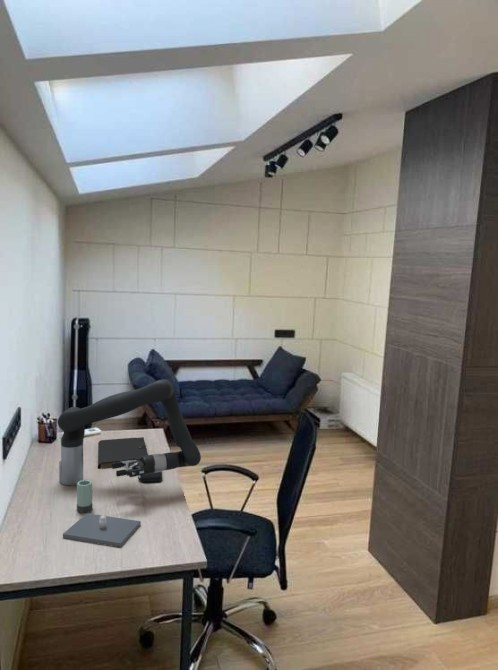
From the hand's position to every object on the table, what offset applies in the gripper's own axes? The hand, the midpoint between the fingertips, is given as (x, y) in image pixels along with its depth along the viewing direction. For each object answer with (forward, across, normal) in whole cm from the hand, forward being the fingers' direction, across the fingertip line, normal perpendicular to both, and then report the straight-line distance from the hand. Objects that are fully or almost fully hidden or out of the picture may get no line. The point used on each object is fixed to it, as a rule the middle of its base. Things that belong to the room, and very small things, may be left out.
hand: (114, 469), depth 201 cm
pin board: (+8, +19, +15) cm, 26 cm away
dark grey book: (-16, -54, +15) cm, 58 cm away
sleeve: (+12, 0, +14) cm, 18 cm away
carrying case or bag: (-21, -22, +15) cm, 34 cm away
